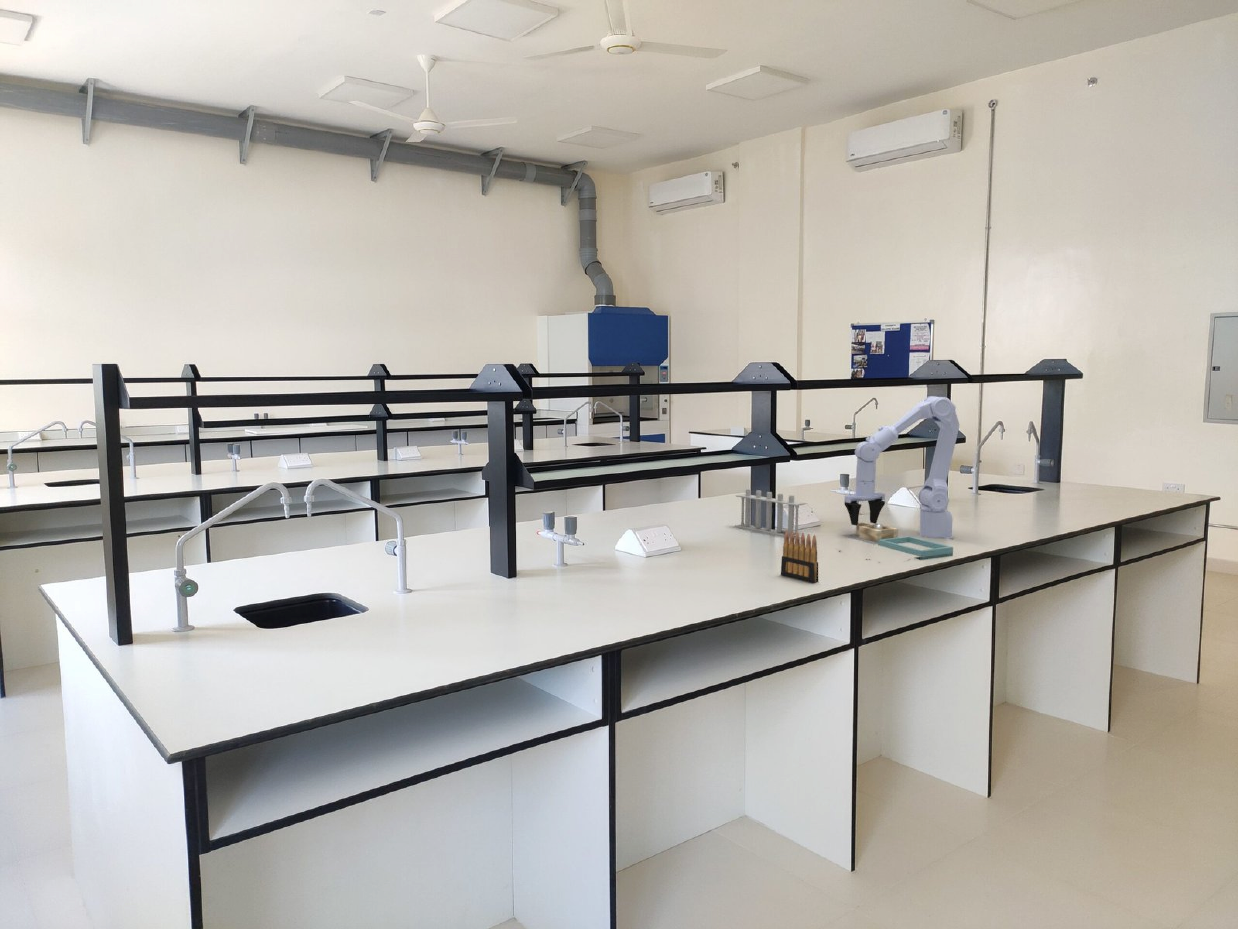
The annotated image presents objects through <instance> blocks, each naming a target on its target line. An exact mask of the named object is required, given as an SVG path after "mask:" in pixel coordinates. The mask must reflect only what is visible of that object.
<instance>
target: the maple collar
mask: <svg viewBox="0 0 1238 929" xmlns="http://www.w3.org/2000/svg"><path fill="white" fill-rule="evenodd" d="M882 525H883V529H879V530H877V529H874V524H871V523H870V524H869V523H865V522H858V525H855V526H856V528H855V529H856V530H855V534H857V535H859V538H862V539H866V540H870V541H873V542H877V543H878V540H881V539H889V538H898V536H899V535H898V534H899V533H898V532H899V528H895V527H891V526H888V525H884V524H882Z"/></svg>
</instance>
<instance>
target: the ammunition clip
mask: <svg viewBox="0 0 1238 929" xmlns="http://www.w3.org/2000/svg"><path fill="white" fill-rule="evenodd" d="M784 533H785V536H784V537H783V538H784V540H783V544H782V545H783V546H782V555H781V567H780V576H783V577H787V578H791V579H795V580H799V581H802V582H808V583H811V584H816V583H817V584H818V583H819V562H818V545H817V542H818V541H817V536H816V535H815V534H813V536H812V540H811V535H810V533H808V534H807V536H806V537H805V533H804V532H802V533H801V535H800V534H799V531H798V532H797V533H796V535H795V532H794V531H791V534H790V538H789V534H788V529H785V532H784ZM794 536H795V539H794ZM799 537H800V538H799Z"/></svg>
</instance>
